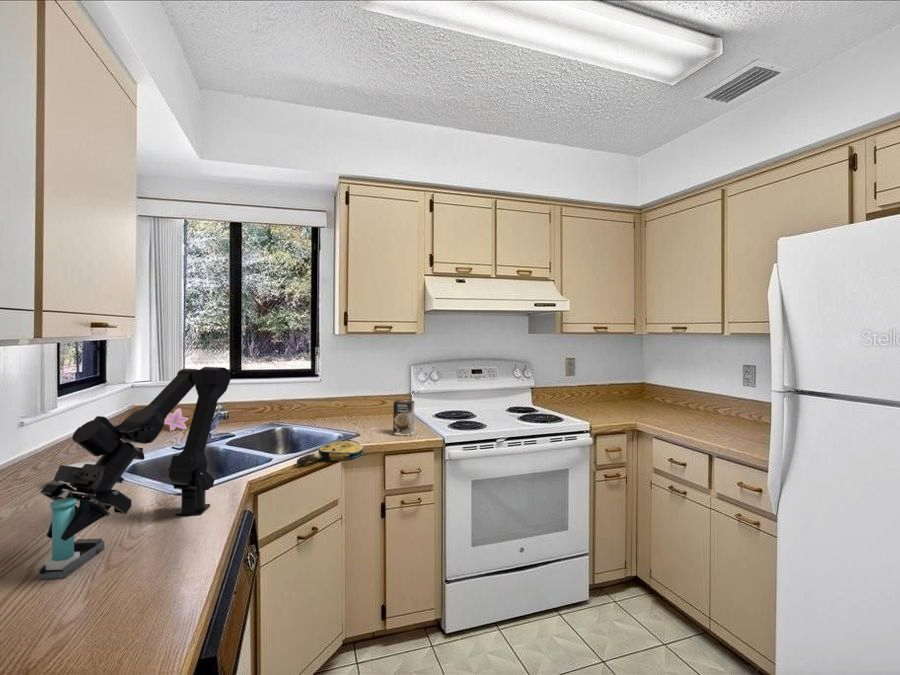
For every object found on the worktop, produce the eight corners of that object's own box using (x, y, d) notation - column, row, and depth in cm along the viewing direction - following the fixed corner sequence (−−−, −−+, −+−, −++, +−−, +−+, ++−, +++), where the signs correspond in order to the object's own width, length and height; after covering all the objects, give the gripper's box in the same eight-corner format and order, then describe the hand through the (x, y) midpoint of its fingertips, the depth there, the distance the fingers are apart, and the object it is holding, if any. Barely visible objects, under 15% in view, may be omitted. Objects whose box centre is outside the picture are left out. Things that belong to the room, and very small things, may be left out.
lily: (154, 434, 217) (161, 418, 215) (159, 421, 227) (166, 404, 225) (182, 440, 223) (189, 424, 221) (186, 426, 233) (192, 410, 231)
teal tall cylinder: (59, 560, 94) (60, 497, 94) (80, 559, 95) (81, 497, 95) (44, 570, 90) (45, 505, 90) (66, 569, 91) (67, 504, 91)
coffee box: (392, 435, 218) (392, 401, 218) (395, 432, 224) (396, 399, 224) (411, 436, 217) (411, 402, 217) (414, 433, 223) (414, 400, 223)
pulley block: (287, 446, 170) (353, 433, 192) (286, 461, 170) (351, 447, 193) (308, 459, 161) (375, 444, 183) (307, 475, 161) (373, 458, 184)
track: (80, 550, 101) (80, 537, 101) (104, 549, 102) (104, 536, 102) (37, 579, 89) (37, 565, 89) (64, 578, 90) (64, 564, 90)
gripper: (50, 444, 98) (-13, 515, 88) (119, 451, 94) (60, 527, 83) (87, 470, 106) (33, 538, 96) (152, 478, 101) (103, 550, 91)
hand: (55, 538), depth 91 cm, fingers closed on teal tall cylinder, 3 cm apart
